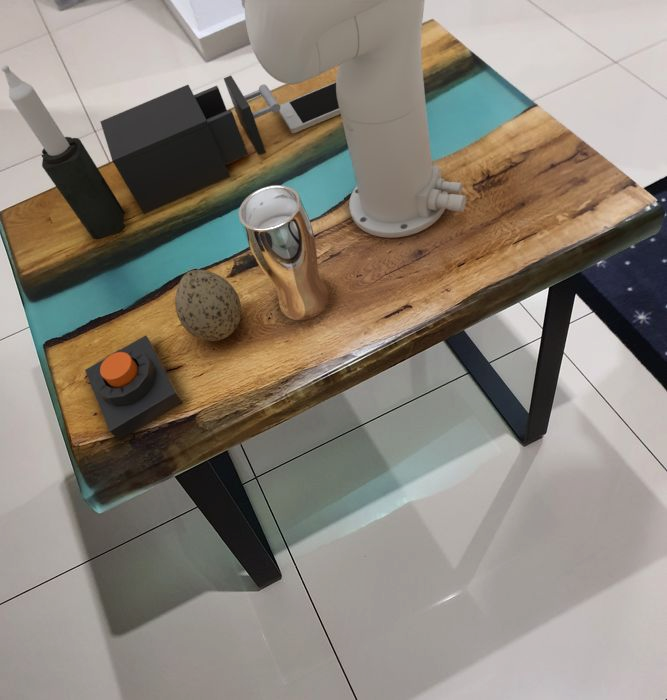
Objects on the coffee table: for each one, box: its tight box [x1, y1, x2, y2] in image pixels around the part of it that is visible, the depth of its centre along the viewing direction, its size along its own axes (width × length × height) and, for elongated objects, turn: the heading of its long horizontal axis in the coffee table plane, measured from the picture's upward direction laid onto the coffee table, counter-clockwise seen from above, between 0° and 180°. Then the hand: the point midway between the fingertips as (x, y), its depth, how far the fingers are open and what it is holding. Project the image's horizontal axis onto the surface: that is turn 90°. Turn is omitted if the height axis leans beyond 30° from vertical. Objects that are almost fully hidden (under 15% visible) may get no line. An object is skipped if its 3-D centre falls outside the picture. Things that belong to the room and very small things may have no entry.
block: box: [84, 335, 184, 441], centre depth 73 cm, size 10×8×4 cm
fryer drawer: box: [193, 75, 281, 166], centre depth 94 cm, size 17×9×8 cm, turn 112°
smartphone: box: [278, 81, 341, 134], centre depth 99 cm, size 7×15×1 cm, turn 111°
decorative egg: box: [174, 269, 242, 342], centre depth 73 cm, size 7×7×10 cm
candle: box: [0, 63, 126, 240], centre depth 84 cm, size 5×5×25 cm
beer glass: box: [238, 184, 330, 321], centre depth 71 cm, size 7×7×15 cm
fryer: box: [100, 84, 231, 215], centre depth 93 cm, size 14×11×10 cm
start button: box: [100, 352, 138, 388], centre depth 71 cm, size 4×4×2 cm
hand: (293, 38), depth 89 cm, fingers closed
